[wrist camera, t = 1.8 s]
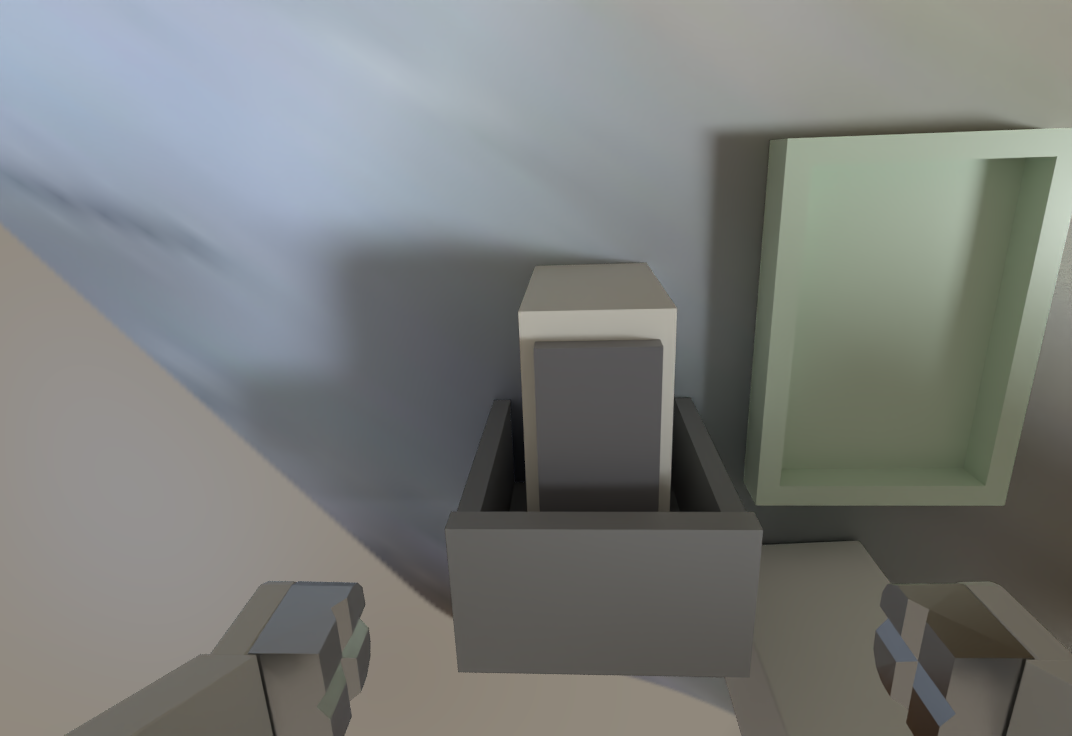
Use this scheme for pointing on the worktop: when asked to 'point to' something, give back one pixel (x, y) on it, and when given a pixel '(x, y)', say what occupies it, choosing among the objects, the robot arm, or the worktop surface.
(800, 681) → the milk carton
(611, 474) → the cream box grey panel
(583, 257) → the worktop surface
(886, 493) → the tray
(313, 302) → the worktop surface
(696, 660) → the open-top grey box
